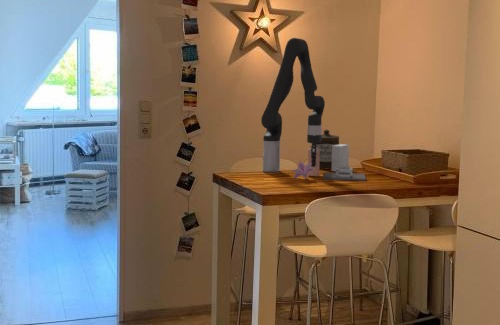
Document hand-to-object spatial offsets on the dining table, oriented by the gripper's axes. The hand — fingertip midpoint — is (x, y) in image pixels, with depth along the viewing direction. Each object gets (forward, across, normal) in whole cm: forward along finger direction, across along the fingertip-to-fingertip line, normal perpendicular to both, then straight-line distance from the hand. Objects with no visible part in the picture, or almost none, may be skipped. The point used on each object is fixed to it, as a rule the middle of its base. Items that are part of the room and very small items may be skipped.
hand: (313, 165), depth 329 cm
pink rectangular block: (+5, 0, 0) cm, 5 cm away
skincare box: (+6, -19, +14) cm, 24 cm away
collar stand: (+6, +2, +16) cm, 17 cm away
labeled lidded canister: (+6, -32, +6) cm, 33 cm away
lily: (+6, +11, -5) cm, 13 cm away
